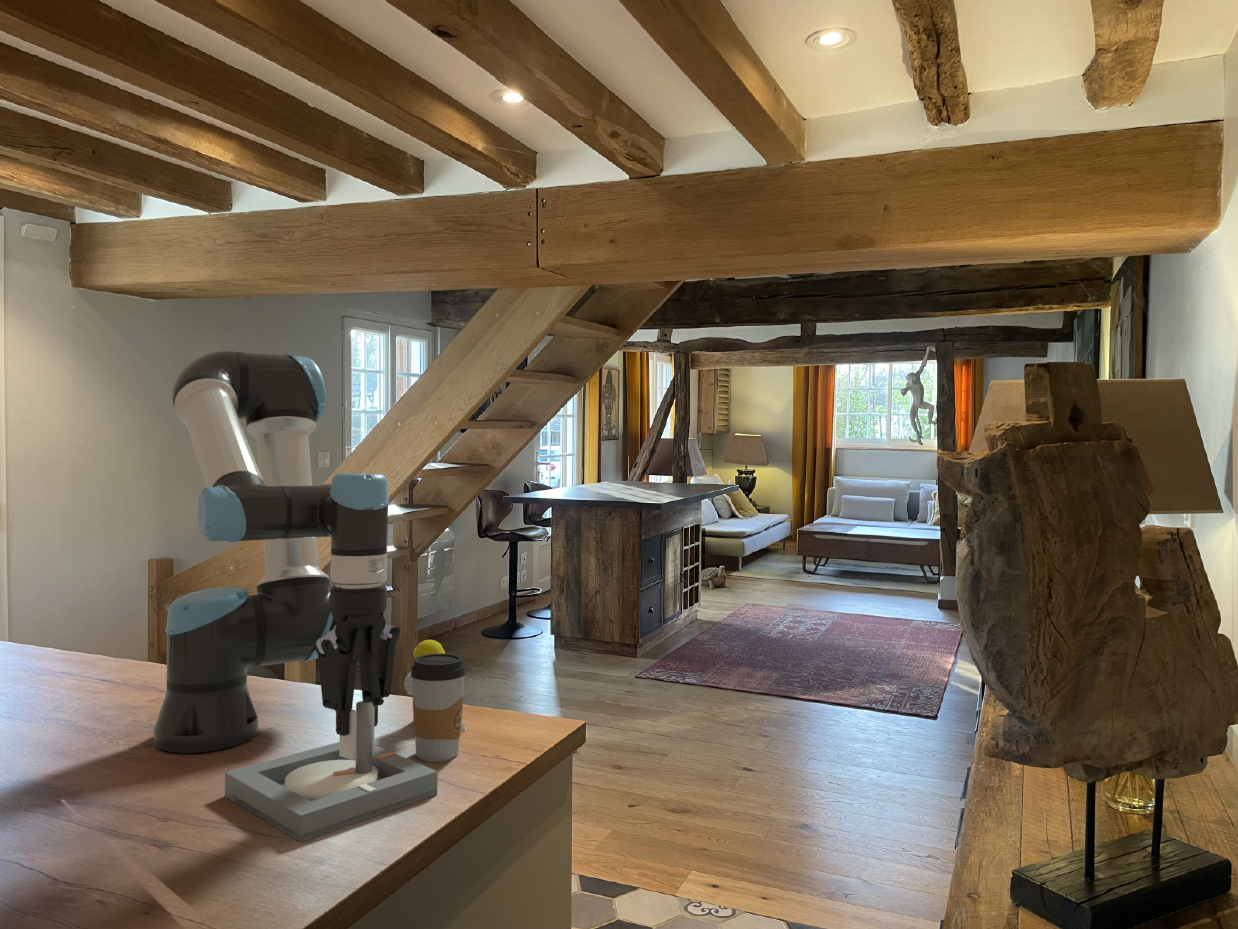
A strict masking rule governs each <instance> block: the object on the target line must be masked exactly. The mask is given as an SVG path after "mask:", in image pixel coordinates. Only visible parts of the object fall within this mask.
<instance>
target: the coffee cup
mask: <svg viewBox="0 0 1238 929" xmlns="http://www.w3.org/2000/svg"><path fill="white" fill-rule="evenodd" d="M463 658H464V657H462V656H461V655H458V654H456V653H455V654H454V653H445V654H443V653H441V654H428V655H422V656H419V657H417V658H414V661H413V664H412V666H411V671H410V672H411V677H412V687H413V695H412V712H413V716H414V722H413V730H414V740H415V741H414V743H415V755H416V756H417V757H418V759H420V760H422V761H424V762H429V763H430V762H431V763H440V762H446V761H450V760H452V759H454V758H455V757H456V756H457V755H458V754H459V751H460V750H459V748H460V738H461V721H462V720H463V719H462V718H463V706H464V686H465V676H466V674H467V672H466V664H465V663H464V660H463ZM462 722H463V721H462Z"/></svg>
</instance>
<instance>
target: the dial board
mask: <svg viewBox="0 0 1238 929" xmlns="http://www.w3.org/2000/svg"><path fill="white" fill-rule="evenodd" d="M339 745H340V741H339V742H334V743H331V744H327V745H323V746H319V747H316V748H315V747H314V748H312V749H307V750H304V751H300V752H297V753H293V754H289V755H285V756H281V757H278V758H273V759H270V760H267V761H262V762H259V763H255V764H251V765H247V766H244V767H240V768H236V769H232V770H230V771H225V772H224V797H225V798H227V799H229V800H231V801H232V802H234V803H236V804H238V805H239V806H240V807H242V808H243V809H245V810H248V811H249V812H250V813H252V814H254V815H255V816H257V817H259V818H260V819H261V820H263V821H265V822H267V823H268V824H270V825H272V826H273V827H275V828H277V829H279V830H280V831H281V832H282V833H285V834H287V835H288V836H290V837H291V838H293V839H294V840H296V841H298V842H300V843H302V842H304V841H308V840H310V839H313V838H317V837H319V836H322V835H325V834H327V833H331V832H333V831H337V830H339V829H343V828H345V827H348V826H351V825H353V824H357V823H359V822H362V821H364V820H365V821H366V820H368V819H371V818H374V817H376V816H379V815H382V814H385V813H388V812H391V811H394V810H397V809H400V808H402V807H405V806H408V805H411V804H414V803H418V802H420V801H423V800H426V799H429V798H432V797H435V796H437V795H438V771H437V770H436V769H433V768H430V767H428V766H426V765H423V764H421V763H419V762H416V761H414V760H412V759H410V758H406V757H405V756H402V755H400V754H397V753H396V752H394V751H390V750H387V749H385V748H383V747H381V746H378V745H375V744H374V753H372V765H373V766H375V767H376V768H377V770H378V780H377V781H374V782H371V783H368V784H362V785H358V787H355V788H352V789H348V790H345V791H342V792H339V793H336V794H332V795H329V796H326V797H323V798H320V799H316V800H313V801H310V800H308V799H306V798H304V797H302V796H300V795H299V794H297V793H295V792H293V791H291V790H289V789H287V788H286V787H285V778H286V776H287V775H288V774H289V773H290V772H292V771H294V770H295V769H298V768H300V767H303V766H305V765H309V764H313V763H317V762H322V761H330V760H351V759H347V758H344V757H341V756H339ZM354 760H356V759H354Z"/></svg>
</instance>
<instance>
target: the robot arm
mask: <svg viewBox="0 0 1238 929" xmlns="http://www.w3.org/2000/svg"><path fill="white" fill-rule="evenodd" d="M326 401H327V392H326V383H325V381H324V377H323V373H322V371H321V370H320V368H319V365H317V363H315V361H314V360H312V359H311V358H308V357H306V356H305V357H304V356H298V355H292V354H290V353H284V354H279V353H278V354H274V353H263V352H261V353H260V352H247V351H235V350H219V351H218V350H217V351H214V352H213V351H212V352H210V353H209V352H208V353H207V354H204V355H202V356H200V357H198V358H196V359H194V360H192V361H191V362H190V363H189V364H188V365H186V367H185V368H184V369H183V370H182V371H181V372H180V374H179V375H178V377H177V378H176V380H175V382H174V384H173V389H172V404H173V409H174V412H175V414H176V417H177V418H178V419H179V421H180V422H181V423H182V424H184V425H185V426H186V427H187V430H188V433H189V436H190V440H191V443H192V446H193V449H194V452H195V456H196V457H197V458H196V459H197V462H198V465H199V468H200V471H201V474H202V477H203V480H204V484H205V486H206V487H205V488H202V490H201V491H200V493H199V496H198V499H197V522H198V530H199V533H200V535H201V537H202V538H203V539H204V540H207V541H208V542H210V541H211V542H229V543H237V542H245V541H262V542H263V551H264V552H263V554H264V566H265V568H264V569H265V574H264V575H263V576H262V578H261V579H260V580H259V581H258V582H257V584H256V594H250V593H249V592H248V589H247V588H246V587H244V586H238V585H237V586H236V585H235V586H232V585H231V586H226V587H225V586H220V587H214V588H213V587H212V588H207V589H202V590H199V591H198V590H196V591H194V592H191V593H190V592H189V593H187V594H185V595H184V594H183V595H182V596H180V597H177V598H175V599H174V600H173V601H172V602H171V603H170V604H169V607H168V609H167V618H166V627H165V634H166V690H165V691H166V692H165V697H164V699H163V701H162V705H161V707H160V711H159V712H158V716H157V719H156V722H155V725H154V727H153V734H152V735H153V736H152V737H153V746H154V747H155V748H156V749H158V750H161V751H165V752H169V753H177V754H178V753H181V754H182V753H183V754H194V753H196V754H197V753H206V752H212V751H213V752H214V751H219V750H225V749H229V748H233V747H236V746H239V745H243V744H244V743H246V742H249V741H251V740H253V738H255V737H256V736H258V733H259V718H258V714H257V711H256V708H255V705H254V701H253V700H252V697H251V694H250V691H249V688H248V669H249V668H253V667H255V668H256V667H262V666H270V665H278V664H286V663H295V662H309V661H310V660H315V659H317V660H318V669H319V671H318V672H319V679H320V680H319V681H320V691H321V699H322V701H321V702H322V706H323V708H326V709H330V710H334V712H335V732H336V735H339V742H340V745H339V756H341V757H344V758H347V759H351V760H354V759H357V711H356V709H353V704H354V695H355V694H354V693H355V684H356V677H357V676H356V674H357V665H358V662H359V673H360V674H359V675H360V684H361V686H360V687H361V698H362V701H372V702H373V731H372V753H374V745H375V727H377V726H378V724H379V706H382V705H383V704H384V703H385V699H384V698H389V697H390V695H391V692H392V681H393V672H394V662H395V655H396V654H395V653H396V644H397V643H398V639H399V637H400V635H401V634H400V633H401V628H400V626H394V625H390V624H389V623H387V620H386V618H385V614H384V613H385V612H386V611H387V608H388V607H387V602H388V601H387V600H388V598H387V596H388V595H387V594H388V592H387V591H388V590H387V589H388V587H386V585H385V584H383V583H385V582H386V581H387V579H388V521H389V504H390V497H389V490H388V486H389V485H388V479H387V477H386V476H385V475H384V474H382V473H370V472H369V473H365V472H364V473H363V472H362V473H361V472H358V473H356V472H355V473H353V472H351V473H350V472H348V473H347V472H344V473H336V474H335V475H333V477H332V479H331V484H321V485H313V477H312V464H311V463H312V462H311V454H310V440H309V437H310V435H311V434H312V433H313V432H314V431H315V430H316V428H317V422H318V421H321V420H322V419H323V417H324V415H325V413H326V408H327V407H326V406H327V404H326ZM240 419H242V420H245V423H246V424H245V425H246V431H247V433H249V435H251V436H252V437H254V438H255V439H256V447H257V448H256V449H257V450H256V451H257V461H256V458H255V456H254V453H253V451H252V449H251V446H250V444H249V441H248V438H247V436H246V434H245V430H244V428H243V426H242V424H241V421H240ZM257 463H258V464H257ZM329 537H330V539H331V540H330V575H328V574H326V573H325V572H324V571H323V570H322V569H321V568H320V565H319V564H320V563H319V553H318V552H319V551H318V541H317V540H318V539H317V538H329ZM330 582H331V584H334V585H333V586H332V587H331V585H330Z"/></svg>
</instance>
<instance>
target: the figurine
mask: <svg viewBox="0 0 1238 929" xmlns="http://www.w3.org/2000/svg"><path fill="white" fill-rule="evenodd" d="M441 653H443V654H446V651H445V650H444V648H443V646H442V644H441V643H440V642H438V641H437V640H433V639H424V640H423V641H421V642H418V644H417V646H416V647H415V648H414V649H413V652H412V654H413V655H412V656H413V657H414V658H413V659H415V658H417V657H419V656H422V655H428V654H441ZM403 684H404V688H405V691H406V692H407V694H408V695H409V696H413V687H412V677H411V671H409V673H408V675H406V677H405V678H404V682H403ZM412 719H413V720H412V722H413V723H414V716H413V718H412ZM466 730H467V727H466V726H465V724H464V721H461V733H465V732H466Z"/></svg>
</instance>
